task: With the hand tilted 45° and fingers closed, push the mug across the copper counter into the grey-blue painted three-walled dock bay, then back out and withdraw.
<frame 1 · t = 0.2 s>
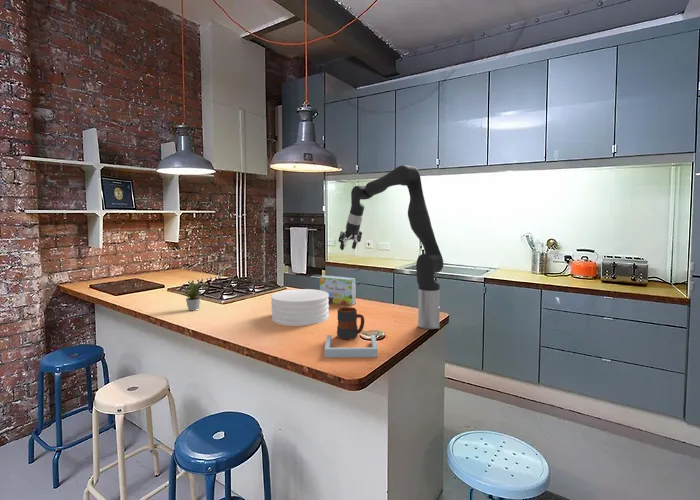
hand: (347, 249, 209), 31 cm above the countertop, tool tilted 20°, fingers open, 8 cm apart
plate stack: (300, 317, 186), on the countertop
dock bay: (351, 348, 142), on the countertop
snack box: (337, 303, 216), on the countertop
house plant: (196, 310, 202), on the countertop
mug: (351, 337, 156), on the countertop
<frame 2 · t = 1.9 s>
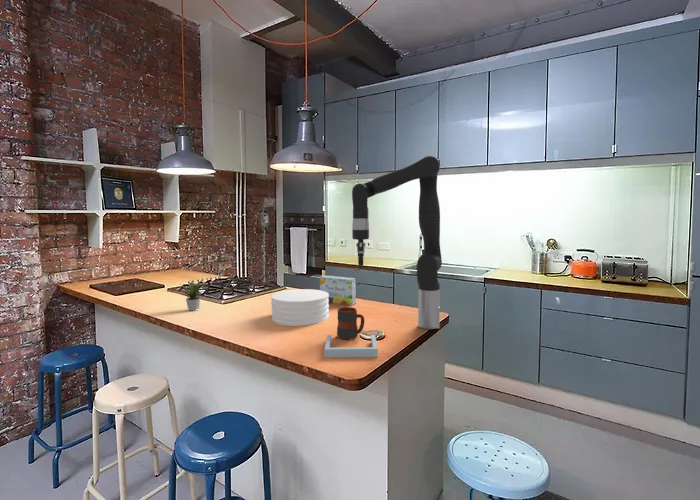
hand: (360, 264, 171), 28 cm above the countertop, tool pointing down, fingers open, 8 cm apart
nothing on the countertop moved.
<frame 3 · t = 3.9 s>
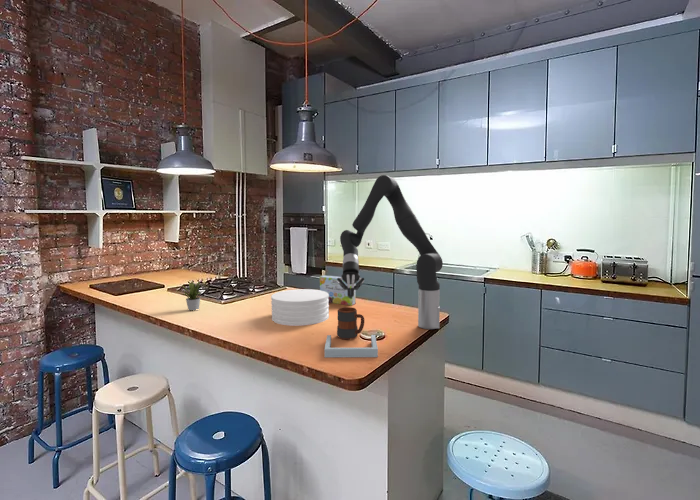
hand: (350, 296, 166), 14 cm above the countertop, tool tilted 45°, fingers closed
nothing on the countertop moved.
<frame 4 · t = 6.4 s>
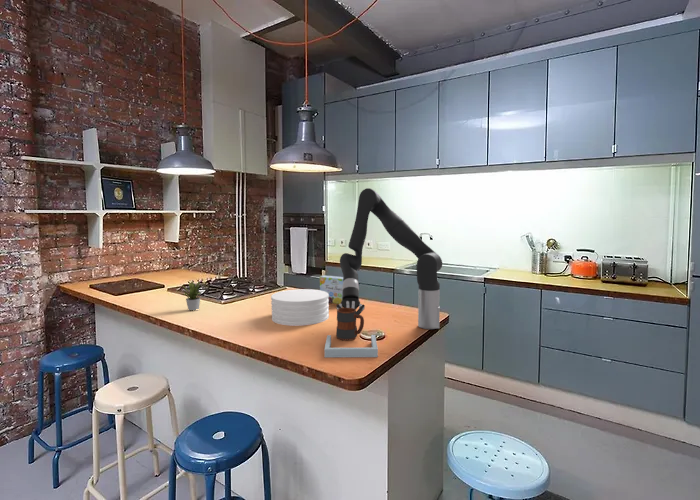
hand: (350, 325, 160), 4 cm above the countertop, tool tilted 45°, fingers closed
mug: (350, 338, 155), on the countertop, touching gripper
everything else where it was.
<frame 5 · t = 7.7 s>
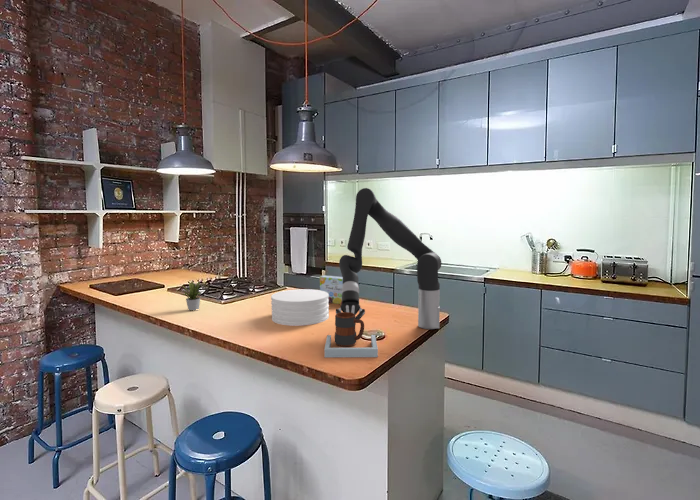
hand: (350, 330, 152), 4 cm above the countertop, tool tilted 45°, fingers closed
mug: (349, 344, 148), on the countertop, touching gripper
everything else where it was.
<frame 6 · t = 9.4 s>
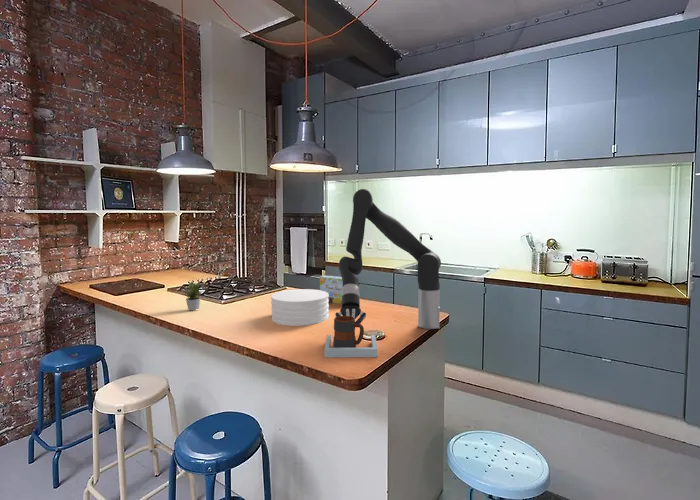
hand: (350, 335, 147), 4 cm above the countertop, tool tilted 45°, fingers closed
mug: (348, 349, 142), on the countertop, touching gripper
everything else where it was.
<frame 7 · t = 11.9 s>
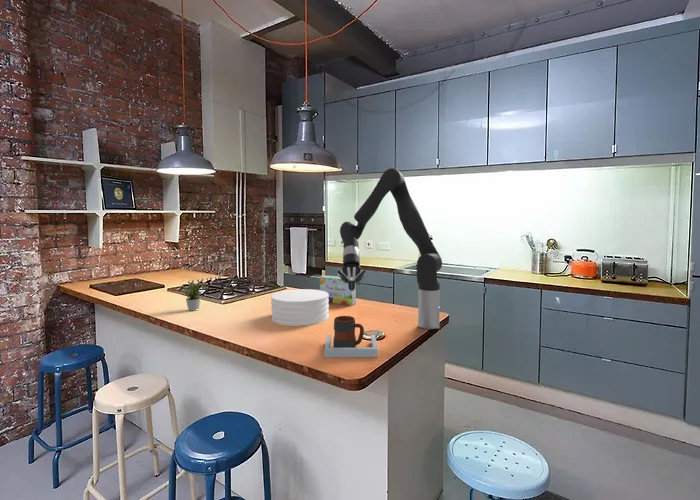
hand: (351, 289, 159), 19 cm above the countertop, tool tilted 45°, fingers closed
mug: (348, 349, 142), on the countertop
everything else where it was.
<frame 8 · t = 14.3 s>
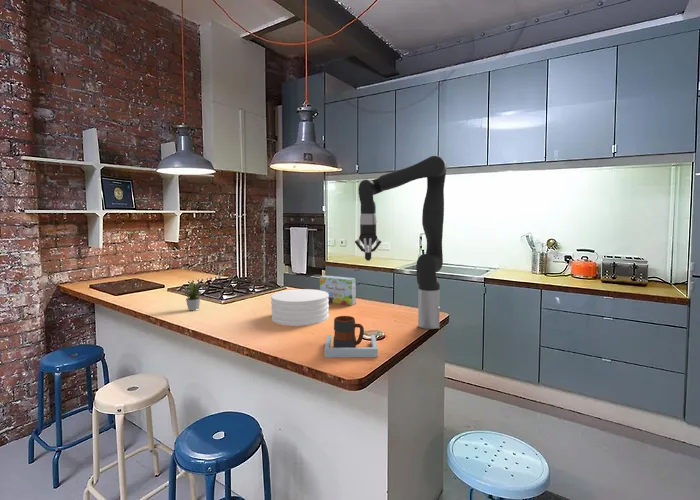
hand: (368, 260, 177), 29 cm above the countertop, tool pointing down, fingers closed
nothing on the countertop moved.
at the end: mug 0.9 cm from the dock bay (horizontally); mug tilted 0°; the gripper is holding nothing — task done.
